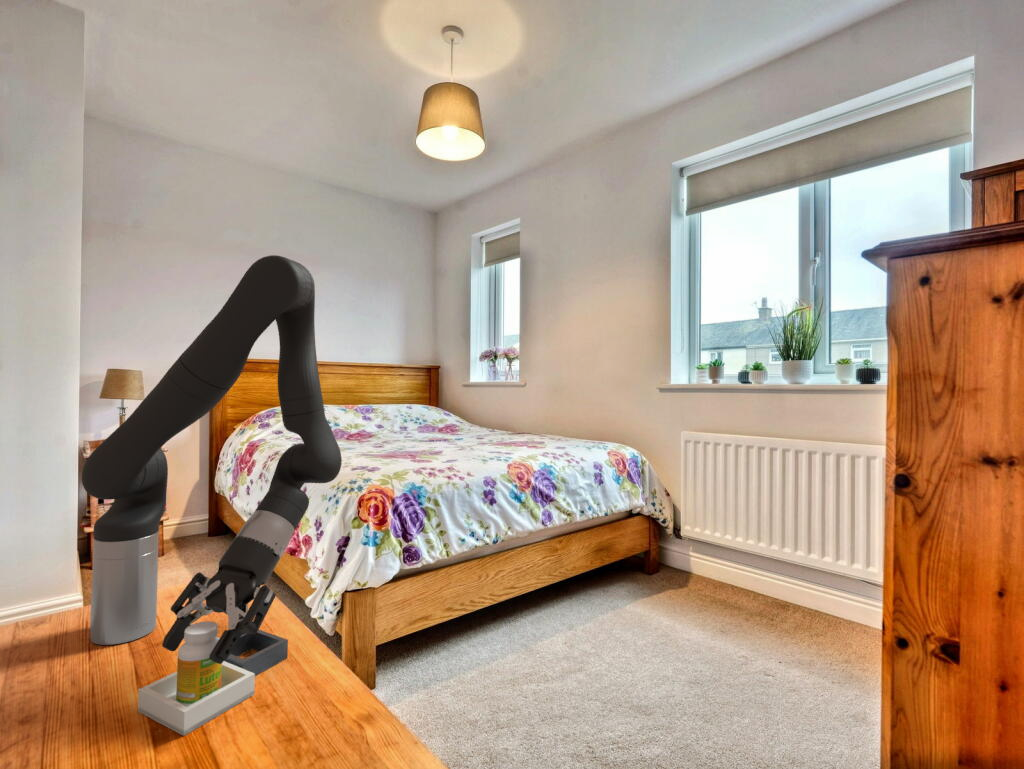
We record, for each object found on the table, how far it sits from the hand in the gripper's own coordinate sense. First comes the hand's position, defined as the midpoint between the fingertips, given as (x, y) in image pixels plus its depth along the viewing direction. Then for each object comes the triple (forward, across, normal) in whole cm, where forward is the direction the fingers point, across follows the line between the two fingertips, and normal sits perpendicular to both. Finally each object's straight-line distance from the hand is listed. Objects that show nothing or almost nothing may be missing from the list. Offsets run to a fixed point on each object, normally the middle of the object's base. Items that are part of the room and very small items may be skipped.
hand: (190, 655), depth 71 cm
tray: (+4, 0, +6) cm, 7 cm away
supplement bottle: (+4, 0, +6) cm, 7 cm away
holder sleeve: (-3, -2, +13) cm, 14 cm away
